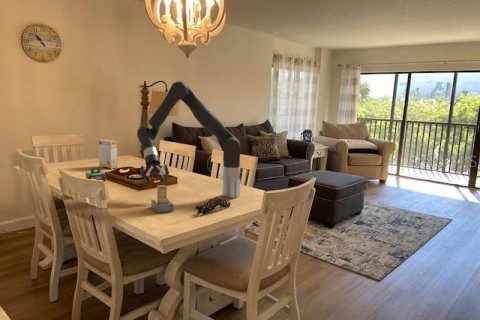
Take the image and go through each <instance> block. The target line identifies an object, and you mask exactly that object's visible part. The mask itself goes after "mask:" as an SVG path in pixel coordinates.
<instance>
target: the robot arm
mask: <svg viewBox="0 0 480 320" xmlns="http://www.w3.org/2000/svg"><path fill="white" fill-rule="evenodd" d="M179 101H182V102H183V103H184V104H185V105H186V106H187V107H188V108H189V110H190V111H191V113H192V115H193V116H194V118H195V119H196V121H197V122H198V123H199V124H200V125H201V127H203V128H204V129H205V130H206V131H208V132H209V133H210V134H212V135H213V136H214V137H215V138H216V139H217V140H218V141H219V142H220V143H221V145H222V146H223V149H222V150H223V151H222V153H223V154H222V155H223V158H222V162H223V166H222V196H223V197H225V198H234V199H235V198H236V199H237V198H238V197H239V196H240V195H241V194H240V193H241V179H240V170H241V169H240V168H241V167H240V166H241V142H240V140H239V139H238V138H237V137H235V135H233V134H232V133H231V132H230V131H229V130H228V129H227V128H226V126H224V125H223V123H222V122H221V121H220V119H219V118H218V117H217V116H216V114H215V113H213V111H211V109H210V108H209V107H208V106H207V105H206V104H205V103H203V102H202V100H201V99H199V98H198V97H197V95H196V94H195V93H194V91H193V90H192V89H191V88H190V86H189V85H188V84H187V83H186V82H184V81H180V80H179V81H175V82H173V83H172V84H171V86H170V88H169V89H168V92H167V94H166V96H165V98H164V99H163V101H162V102H161V103H160V105H159V106H158V108H157V109H156V110H155V111H154V113H153V114H152V116H151V117H150V118H149V119H148V123H149V125H150V126H151V128H149V127H148V126H143V125H142V126H139V128H138V129H137V130H136V131H137V133H136V135H137V138H138V141H139V143H140V144H141V146H142V150H143V158H144V163H145V166H144V165H141V166H140V176H141V178H142V179H143V178H144V179H145V183H146V184H147V185H150V182H151V181H150V178H149V177H150V175H157V174H158V175H160V176H161V177H162V179H163V183H164V184H166V183H167V180H168V178H167V177H168V176H170V175H169V174H170V170H169V168H168V165H167V164H164V165H162V164H161V160H160V156H159V152H158V149H157V145H156V142H155V141H154V140H156V138H157V135H158V134H159V130H160V128H161V127H162V125H163V124H164V123H165V121H166V120H167V118H168V117H169V114H170V113H171V111H172V109H173V108H174V106H175V105H176V104H177V103H179ZM145 170H146V171H147V172H146V173H145Z"/></svg>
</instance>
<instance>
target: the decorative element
mask: <svg viewBox="0 0 480 320" xmlns="http://www.w3.org/2000/svg"><path fill="white" fill-rule="evenodd" d="M231 204H232V202H230V201H229V200H226V199H222V198H218V196H217V197H214V198H211V199H209V200H208V201H207V202H205V203H204V204H203V205H202V204H201V205H196V206H195V210H197V214H202V216H206V215H207V214H208V213H209V212H212V210H214V209H216V208H217V207H223V208H227V207H230V206H232V205H231Z"/></svg>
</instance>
